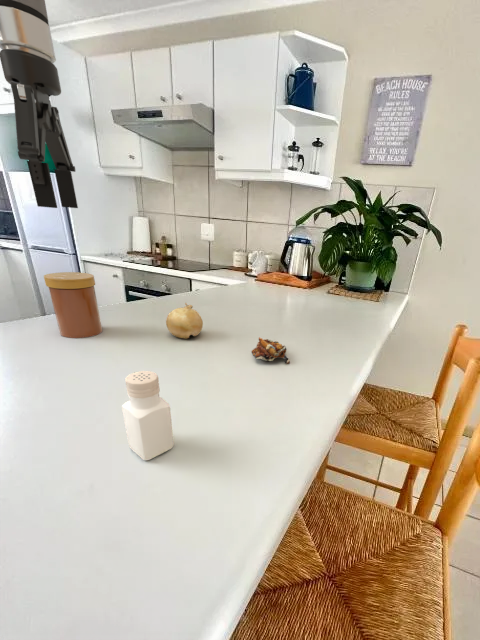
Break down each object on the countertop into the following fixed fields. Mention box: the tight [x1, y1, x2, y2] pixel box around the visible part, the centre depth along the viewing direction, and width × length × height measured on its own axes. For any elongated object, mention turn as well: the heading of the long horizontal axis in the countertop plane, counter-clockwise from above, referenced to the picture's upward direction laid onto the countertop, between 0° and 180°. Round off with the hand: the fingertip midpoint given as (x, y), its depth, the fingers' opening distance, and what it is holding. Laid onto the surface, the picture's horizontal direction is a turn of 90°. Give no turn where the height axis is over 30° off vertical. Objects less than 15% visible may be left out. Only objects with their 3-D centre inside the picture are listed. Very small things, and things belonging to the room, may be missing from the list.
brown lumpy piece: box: [251, 336, 291, 365], centre depth 68 cm, size 7×12×4 cm, turn 15°
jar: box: [47, 285, 103, 339], centre depth 69 cm, size 8×8×12 cm
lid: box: [43, 271, 96, 289], centre depth 66 cm, size 9×9×2 cm
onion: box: [165, 302, 204, 339], centre depth 73 cm, size 8×8×7 cm
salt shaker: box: [121, 370, 175, 461], centre depth 36 cm, size 4×4×10 cm
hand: (60, 207), depth 61 cm, fingers open, 13 cm apart
